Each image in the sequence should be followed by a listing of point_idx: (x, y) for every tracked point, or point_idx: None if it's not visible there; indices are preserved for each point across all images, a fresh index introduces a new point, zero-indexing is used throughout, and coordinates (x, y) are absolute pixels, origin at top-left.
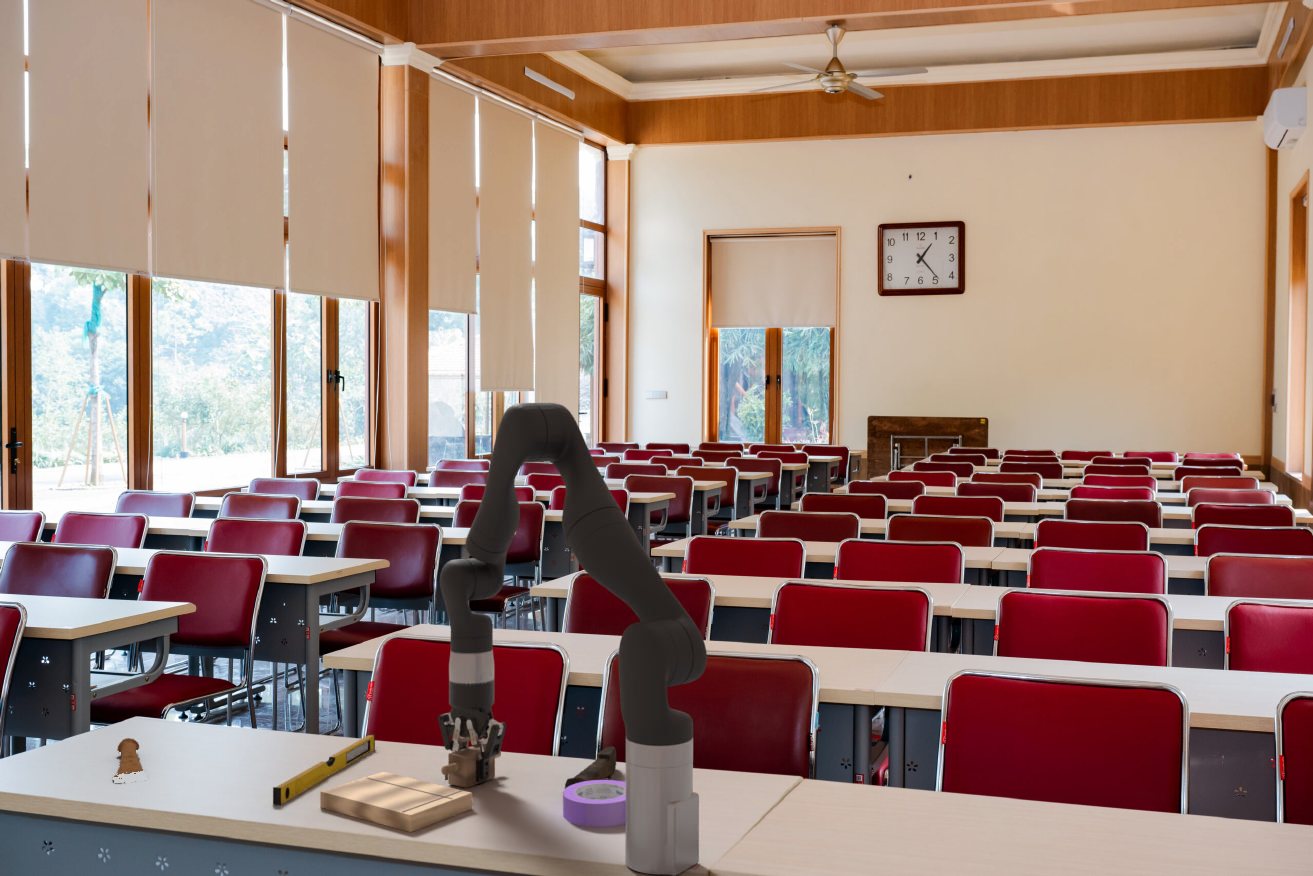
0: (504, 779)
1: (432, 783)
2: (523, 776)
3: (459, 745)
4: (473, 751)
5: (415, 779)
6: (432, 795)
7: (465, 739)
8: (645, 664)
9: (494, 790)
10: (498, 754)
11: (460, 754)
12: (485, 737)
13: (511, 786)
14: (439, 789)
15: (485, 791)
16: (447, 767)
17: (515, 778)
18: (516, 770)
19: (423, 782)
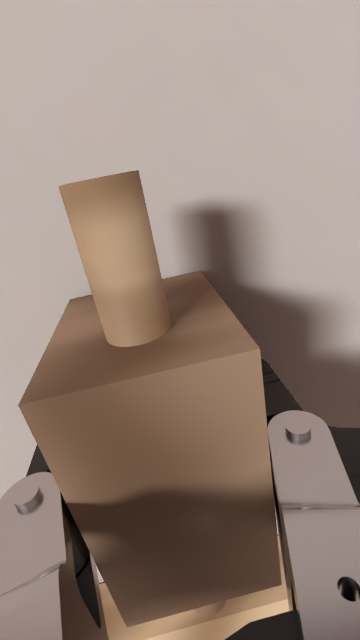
0: (244, 235)
1: (247, 611)
2: (287, 105)
3: (102, 618)
4: (201, 513)
5: (156, 636)
6: None
7: (89, 634)
8: None
9: (328, 366)
10: (144, 206)
11: (199, 589)
12: (347, 591)
13: (352, 280)
14: None
15: (307, 397)
16: (224, 602)
17: (277, 174)
18: (147, 31)
19: (213, 627)
